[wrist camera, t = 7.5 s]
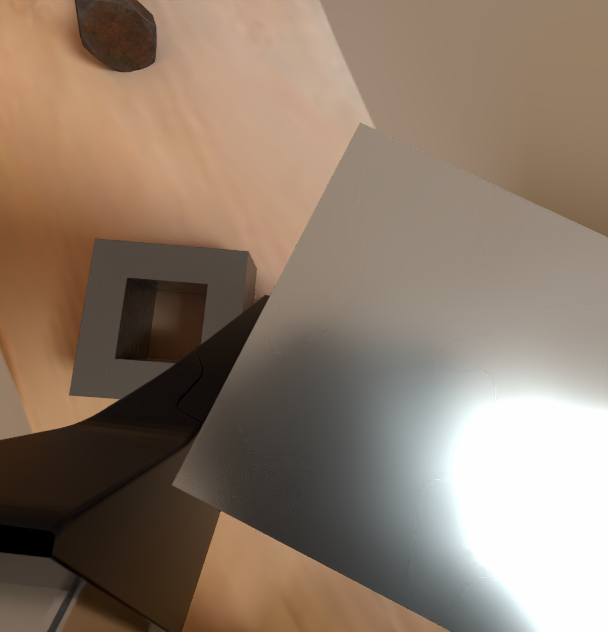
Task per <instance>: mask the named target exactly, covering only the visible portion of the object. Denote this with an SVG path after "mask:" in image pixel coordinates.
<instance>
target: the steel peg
mask: <svg viewBox="0 0 608 632" xmlns="http://www.w3.org/2000/svg"><path fill="white" fill-rule="evenodd" d="M172 485H173V486H175V487H177V488H179V489H181V490H182V491H184V492H186V493H188V494H190V495H192V496H194V497H196V498H198V499H200V500H202V501H203V502H205V503H207V504H209V505H211V506H213V507H215V508H217V509H219V510H221V511H222V512H224V513H226V514H228V515H230V516H232V517H234V518H236V519H238V520H240V521H242V522H243V523H245V524H247V525H249V526H251V527H253V528H255V529H257V530H259V531H261V532H263V533H264V534H266V535H268V536H270V537H272V538H274V539H276V540H278V541H280V542H282V543H284V544H285V545H287V546H289V547H291V548H293V549H295V550H297V551H299V552H301V553H303V554H304V555H306V556H308V557H310V558H312V559H314V560H316V561H318V562H320V563H322V564H324V565H325V566H327V567H329V568H331V569H333V570H335V571H337V572H339V573H341V574H343V575H345V576H346V577H348V578H350V579H352V580H354V581H356V582H358V583H360V584H362V585H364V586H366V587H367V588H369V589H371V590H373V591H375V592H377V593H379V594H381V595H383V596H385V597H387V598H388V599H390V600H392V601H394V602H396V603H398V604H400V605H402V606H404V607H406V608H407V609H409V610H411V611H413V612H415V613H417V614H419V615H421V616H423V617H425V618H427V619H428V620H430V621H432V622H434V623H436V624H438V625H440V626H442V627H444V628H446V629H448V630H449V631H451V632H608V237H606V236H603V235H601V234H599V233H597V232H594V231H593V230H590V229H588V228H586V227H584V226H582V225H580V224H578V223H575V222H573V221H571V220H569V219H567V218H565V217H562V216H560V215H558V214H556V213H553V212H552V211H550V210H547V209H545V208H543V207H541V206H539V205H537V204H534V203H532V202H530V201H528V200H526V199H523V198H521V197H519V196H517V195H515V194H513V193H511V192H509V191H506V190H504V189H502V188H500V187H498V186H496V185H494V184H491V183H489V182H487V181H485V180H483V179H480V178H478V177H476V176H474V175H472V174H470V173H468V172H466V171H463V170H461V169H459V168H457V167H455V166H452V165H450V164H448V163H446V162H444V161H442V160H440V159H437V158H435V157H433V156H431V155H429V154H427V153H425V152H422V151H420V150H418V149H416V148H414V147H412V146H410V145H407V144H405V143H403V142H401V141H399V140H396V139H394V138H392V137H390V136H388V135H386V134H384V133H382V132H379V131H377V130H375V129H373V128H371V127H369V126H366V125H364V124H362V123H360V124H359V126H358V128H357V130H356V132H355V133H354V135H353V137H352V139H351V141H350V143H349V145H348V147H347V149H346V151H345V153H344V155H343V157H342V159H341V160H340V162H339V164H338V166H337V168H336V170H335V172H334V174H333V176H332V178H331V180H330V182H329V184H328V185H327V187H326V189H325V191H324V193H323V195H322V197H321V199H320V201H319V203H318V205H317V207H316V209H315V210H314V212H313V214H312V216H311V218H310V220H309V222H308V224H307V226H306V228H305V230H304V232H303V234H302V236H301V237H300V239H299V241H298V243H297V245H296V247H295V249H294V251H293V253H292V255H291V257H290V259H289V261H288V262H287V264H286V266H285V268H284V270H283V272H282V274H281V276H280V278H279V280H278V282H277V284H276V286H275V287H274V289H273V291H272V293H271V295H270V297H269V299H268V301H267V303H266V305H265V307H264V309H263V311H262V313H261V314H260V316H259V318H258V320H257V322H256V324H255V326H254V328H253V330H252V332H251V334H250V336H249V338H248V339H247V341H246V343H245V345H244V347H243V349H242V351H241V353H240V355H239V357H238V359H237V361H236V363H235V364H234V366H233V368H232V370H231V372H230V374H229V376H228V378H227V380H226V382H225V384H224V386H223V388H222V390H221V391H220V393H219V395H218V397H217V399H216V401H215V403H214V405H213V407H212V409H211V411H210V413H209V415H208V416H207V418H206V420H205V422H204V424H203V426H202V428H201V430H200V432H199V434H198V436H197V438H196V440H195V441H194V443H193V445H192V447H191V449H190V451H189V453H188V455H187V457H186V459H185V461H184V463H183V465H182V466H181V468H180V470H179V472H178V474H177V476H176V478H175V480H174V482H173V484H172Z"/></svg>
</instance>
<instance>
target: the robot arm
mask: <svg viewBox="0 0 608 632" xmlns="http://www.w3.org/2000/svg"><path fill="white" fill-rule="evenodd" d="M269 297H270V296H269V295H265V296H263V297H262V298H260V299H259V300H258V301H257V302H255V303H254V304H253V305H251V306H250V307H249V308H247V309H246V310H245V311H244V312H242V313H241V314H240V315H238V316H237V317H236V318H234V319H233V320H232V321H231V322H229V323H228V324H227V325H225V326H224V327H223V328H222V329H220V330H219V331H218V332H216V333H215V334H214V335H212V336H211V337H210V338H209V339H207V340H206V341H205V342H203V343H202V344H201V345H200V346H198V347H197V348H196V349H195V350H193V351H192V352H190V353H189V354H188V355H186V356H185V357H184V358H182V359H181V360H180V361H178V362H177V363H176V364H174V365H173V366H171V367H170V368H169V369H167V370H166V371H164V372H163V373H161V374H160V375H158V376H157V377H155V378H153V379H152V380H150V381H149V382H147V383H146V384H144V385H142V386H141V387H139V388H138V389H136V390H134V391H133V392H131V393H130V394H128V395H126V396H125V397H123V398H122V399H120V400H118V401H117V402H115V403H114V404H112V405H110V406H109V407H107V408H106V409H104V410H102V411H101V412H99V413H97V414H95V415H94V416H92V417H90V418H88V419H86V420H83V421H81V422H78V423H76V424H73V425H70V426H67V427H63V428H58V429H54V430H48V431H43V432H38V433H33V434H28V435H24V436H18V437H13V438H9V439H3V440H0V632H182V629H183V626H184V623H185V619H186V616H187V613H188V610H189V607H190V604H191V601H192V598H193V595H194V592H195V589H196V586H197V583H198V580H199V577H200V573H201V570H202V567H203V564H204V561H205V558H206V555H207V552H208V549H209V546H210V543H211V540H212V537H213V534H214V530H215V527H216V524H217V521H218V518H219V515H220V514H219V513H220V512H221V510H219V509H217V508H215V507H213V506H211V505H209V504H207V503H205V502H203V501H202V500H200V499H198V498H196V497H194V496H192V495H190V494H188V493H186V492H184V491H182V490H181V489H179V488H177V487H175V486H173V485H172V484H173V482H174V480H175V478H176V476H177V474H178V472H179V470H180V468H181V466H182V465H183V463H184V461H185V459H186V457H187V455H188V453H189V451H190V449H191V447H192V445H193V443H194V441H195V440H196V438H197V436H198V434H199V432H200V430H201V428H202V426H203V424H204V422H205V420H206V418H207V416H208V415H209V413H210V411H211V409H212V407H213V405H214V403H215V401H216V399H217V397H218V395H219V393H220V391H221V390H222V388H223V386H224V384H225V382H226V380H227V378H228V376H229V374H230V372H231V370H232V368H233V366H234V364H235V363H236V361H237V359H238V357H239V355H240V353H241V351H242V349H243V347H244V345H245V343H246V341H247V339H248V338H249V336H250V334H251V332H252V330H253V328H254V326H255V324H256V322H257V320H258V318H259V316H260V314H261V313H262V311H263V309H264V307H265V305H266V303H267V301H268V299H269Z"/></svg>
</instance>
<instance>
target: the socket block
mask: <svg viewBox="0 0 608 632" xmlns="http://www.w3.org/2000/svg"><path fill="white" fill-rule="evenodd" d="M256 270H257V268H256V266H255V264H254V262H253V260H252V258H251V256H250V253H249V251H237V250H225V249H213V248H201V247H189V246H177V245H165V244H153V243H141V242H129V241H117V240H104V239H95V244H94V250H93V256H92V262H91V268H90V274H89V280H88V286H87V292H86V298H85V304H84V309H83V315H82V321H81V327H80V333H79V339H78V345H77V351H76V357H75V363H74V369H73V375H72V381H71V387H70V393H69V395H72V396H86V397H99V398H113V399H122V398H123V397H125V396H126V395H128V394H130V393H131V392H133V391H134V390H136V389H138V388H139V387H141V386H142V385H144V384H146V383H147V382H149V381H150V380H152V379H153V378H155V377H157V376H158V375H160V374H161V373H163V372H164V371H166V370H167V369H169V368H170V367H171V366H173V365H174V364H176V363H177V362H178V361H180V360H179V359H165V358H152V357H147V356H148V349H149V341H150V334H151V327H152V320H153V313H154V305H155V298H156V291H157V290H160V291H173V292H185V293H198V294H207V296H206V304H205V313H204V321H203V330H202V338H201V344H202V343H203V342H205V341H206V340H207V339H209V338H210V337H211V336H212V335H214V334H215V333H216V332H218V331H219V330H220V329H222V328H223V327H224V326H225V325H227V324H228V323H229V322H231V321H232V320H233V319H234V318H236V317H237V316H238V315H240V314H241V313H242V312H244V311H245V310H246V309H247V308H249V307H250V306H251V305H253V301H254V291H255V280H256Z"/></svg>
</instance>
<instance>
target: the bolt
mask: <svg viewBox="0 0 608 632" xmlns="http://www.w3.org/2000/svg"><path fill="white" fill-rule="evenodd" d="M75 5H76V12H77V19H78V25H79V32H80V37H81V41H82V44H83V46H84V47H85V48H86V49H87V50H88V51H89V52H90V53H91V54H92V55H94V56H95V57H96V58H97V59H99V60H100V61H101V62H103V63H104V64H105V65H107V66H108V67H110V68H112V69H114V70H116V71H119V72H131V71H135V70H140V69H143V68H146V67H148V66H150V65H151V64H153V63H154V62H155V58H156V47H157V33H156V24H155V21H154V17H153V15H152V14H151V13H150V12H149V11H148V10H147V9H146V8H145V7H144V6H143V5H142V4H140V3H139V2H138V1H137V0H75Z"/></svg>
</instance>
